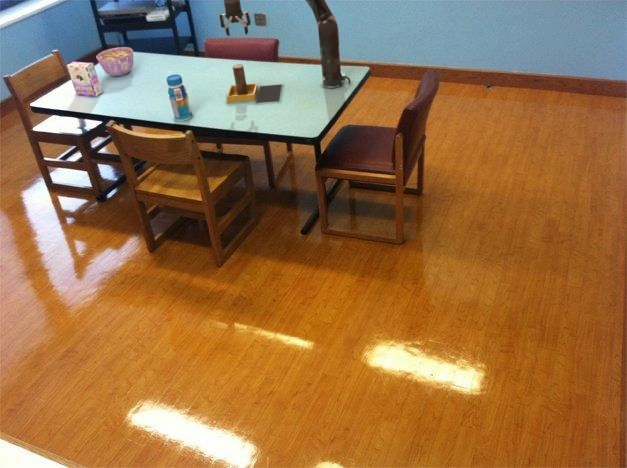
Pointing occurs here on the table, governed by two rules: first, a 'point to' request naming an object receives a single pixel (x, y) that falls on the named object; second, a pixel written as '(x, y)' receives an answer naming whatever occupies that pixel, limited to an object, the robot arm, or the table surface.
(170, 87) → the beverage bottle
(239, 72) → the brown cylinder
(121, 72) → the bowl of food
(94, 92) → the candy box
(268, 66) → the table surface
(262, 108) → the table surface
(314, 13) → the robot arm
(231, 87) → the bin
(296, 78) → the table surface
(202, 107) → the table surface
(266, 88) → the mat
